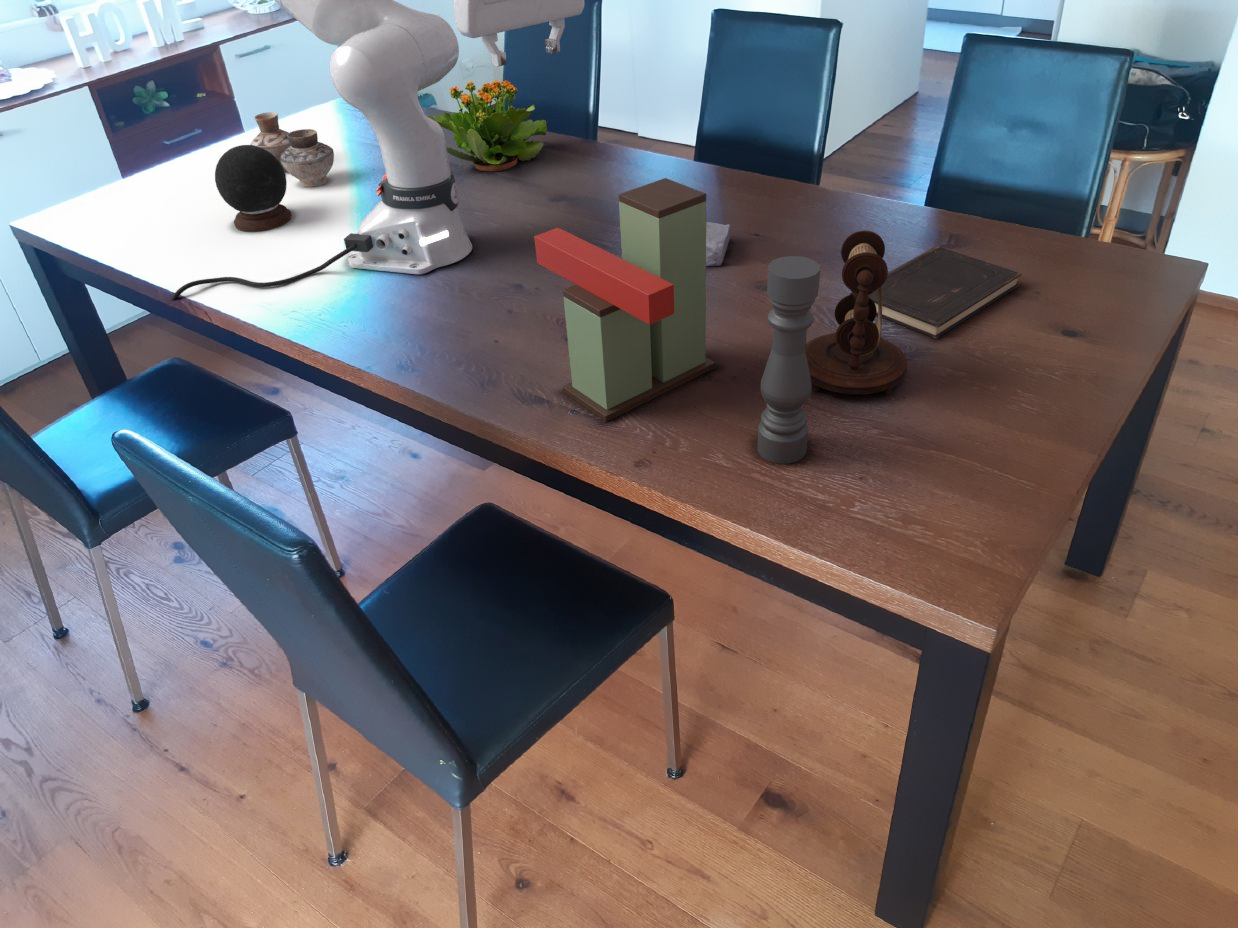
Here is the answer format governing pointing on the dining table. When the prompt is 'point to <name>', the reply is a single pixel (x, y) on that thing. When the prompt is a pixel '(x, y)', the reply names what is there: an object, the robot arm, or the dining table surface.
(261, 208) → the black ball on stand
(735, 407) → the dining table surface
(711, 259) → the stone block
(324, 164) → the pottery
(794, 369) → the candle holder
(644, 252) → the step shelf
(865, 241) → the scroll
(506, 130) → the potted flower
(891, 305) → the hardcover book
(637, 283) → the red bar
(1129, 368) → the dining table surface
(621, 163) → the dining table surface
